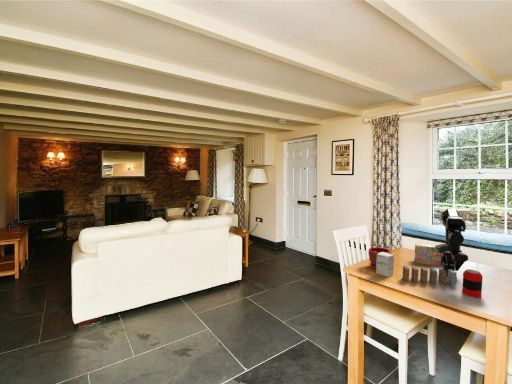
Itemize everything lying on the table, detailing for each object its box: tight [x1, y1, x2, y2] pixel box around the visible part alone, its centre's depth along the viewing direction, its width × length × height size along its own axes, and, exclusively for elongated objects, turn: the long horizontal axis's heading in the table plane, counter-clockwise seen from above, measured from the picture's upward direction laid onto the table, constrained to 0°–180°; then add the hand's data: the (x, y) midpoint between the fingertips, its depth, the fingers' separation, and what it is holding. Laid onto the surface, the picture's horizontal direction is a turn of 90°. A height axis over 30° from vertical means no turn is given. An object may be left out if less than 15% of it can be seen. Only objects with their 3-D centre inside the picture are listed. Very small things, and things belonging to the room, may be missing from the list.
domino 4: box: [428, 267, 438, 285], centre depth 149 cm, size 5×2×8 cm, turn 165°
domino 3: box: [419, 266, 429, 284], centre depth 150 cm, size 5×2×8 cm, turn 165°
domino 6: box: [446, 269, 458, 287], centre depth 147 cm, size 5×2×8 cm, turn 167°
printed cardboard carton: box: [414, 243, 443, 267], centre depth 181 cm, size 21×6×12 cm, turn 69°
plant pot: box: [368, 247, 392, 270], centre depth 173 cm, size 13×13×12 cm
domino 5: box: [437, 268, 448, 286], centre depth 148 cm, size 5×2×8 cm, turn 165°
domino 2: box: [410, 266, 420, 283], centre depth 152 cm, size 5×2×8 cm, turn 165°
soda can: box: [461, 269, 483, 299], centre depth 134 cm, size 8×8×12 cm
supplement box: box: [375, 252, 395, 278], centre depth 161 cm, size 7×7×13 cm
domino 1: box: [402, 265, 410, 283], centre depth 153 cm, size 5×2×8 cm, turn 165°
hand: (452, 267), depth 146 cm, fingers open, 9 cm apart
